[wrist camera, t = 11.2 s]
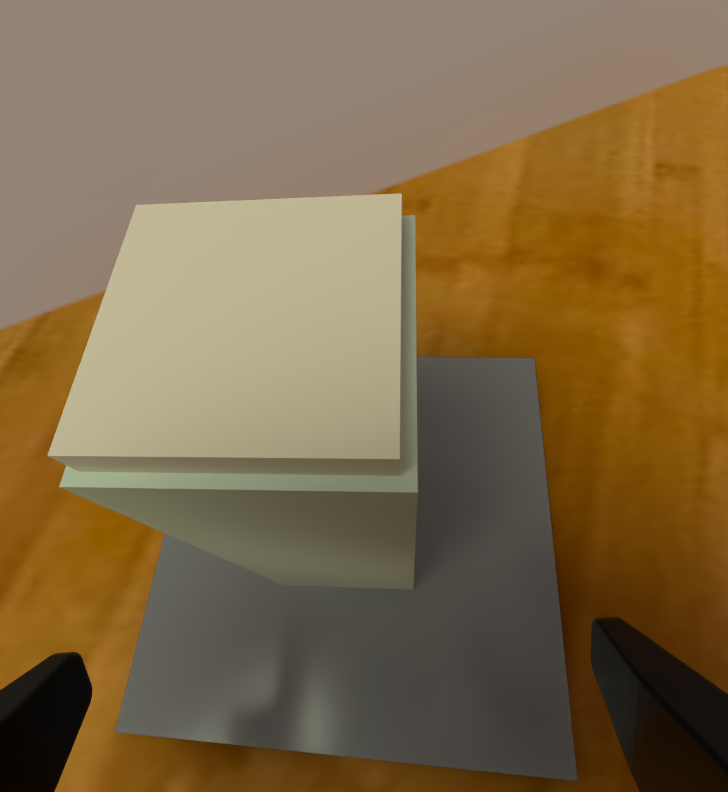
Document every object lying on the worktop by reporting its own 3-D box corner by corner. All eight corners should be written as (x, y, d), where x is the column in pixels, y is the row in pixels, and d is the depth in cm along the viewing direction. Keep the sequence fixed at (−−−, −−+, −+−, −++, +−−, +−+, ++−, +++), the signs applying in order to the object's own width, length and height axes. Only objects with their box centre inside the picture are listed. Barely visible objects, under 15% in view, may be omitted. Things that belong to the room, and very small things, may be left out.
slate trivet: (573, 777, 14) (577, 781, 14) (122, 730, 16) (115, 731, 15) (532, 363, 20) (534, 358, 20) (213, 358, 22) (209, 353, 21)
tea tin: (413, 589, 16) (418, 476, 5) (283, 585, 17) (25, 472, 6) (412, 462, 18) (415, 183, 7) (296, 461, 19) (127, 196, 8)
